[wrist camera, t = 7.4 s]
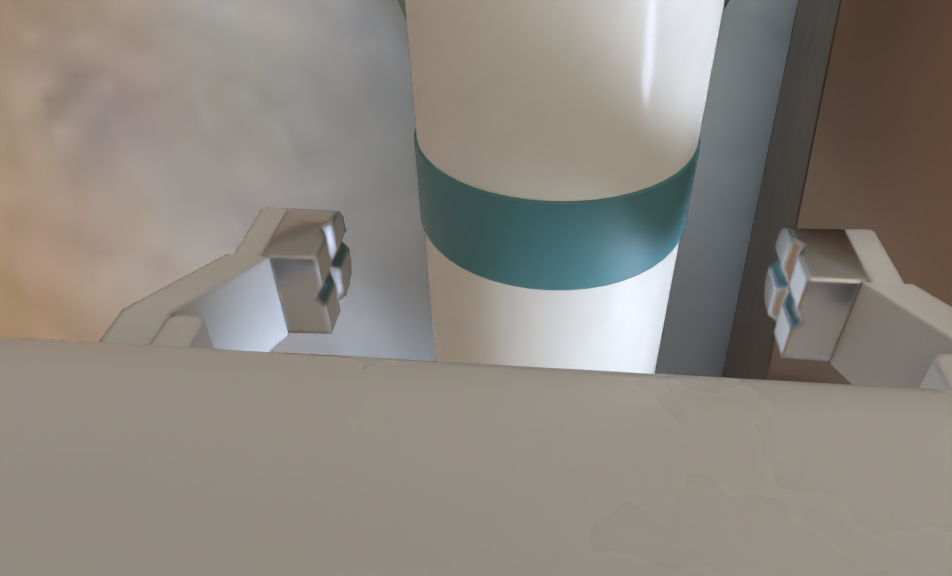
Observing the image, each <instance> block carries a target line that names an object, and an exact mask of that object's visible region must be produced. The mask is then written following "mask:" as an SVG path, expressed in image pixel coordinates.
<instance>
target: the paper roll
mask: <svg viewBox="0 0 952 576" xmlns="http://www.w3.org/2000/svg"><path fill="white" fill-rule="evenodd" d="M724 1H725V0H405V5H406V17H407V28H408V40H409V52H410V64H411V76H412V87H413V99H414V111H415V123H416V128H415V133H414V140H415V153H416V164H417V176H418V187H419V199H420V210H421V221H422V224H423V227H424V231H425V241H426V253H427V265H428V277H429V288H430V300H431V312H432V324H433V336H434V347H435V359H436V361H440V362H458V363H475V364H493V365H511V366H529V367H547V368H564V369H582V370H600V371H618V372H636V373H655V368H656V362H657V357H658V352H659V347H660V341H661V336H662V331H663V325H664V320H665V315H666V309H667V304H668V299H669V293H670V288H671V283H672V278H673V272H674V267H675V262H676V256H677V251H678V246H679V241H680V239H681V236H682V234H683V231H684V227H685V222H686V217H687V212H688V206H689V201H690V196H691V191H692V185H693V180H694V175H695V170H696V165H697V159H698V154H699V148H700V136H699V134H700V129H701V124H702V118H703V113H704V108H705V102H706V97H707V92H708V86H709V81H710V76H711V70H712V65H713V60H714V55H715V49H716V44H717V39H718V33H719V28H720V23H721V17H722V12H723V7H724Z"/></svg>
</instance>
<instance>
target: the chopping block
mask: <svg viewBox="0 0 952 576" xmlns="http://www.w3.org/2000/svg"><path fill="white" fill-rule="evenodd" d="M782 228H802V229H871V230H872V231H874V232H875V233H876V235H877V237H878V239H879V240H880V242H881V244H882V246H883V247H884V249H885V251H886V253H887V254H888V256H889V258H890V260H891V261H892V263H893V265H894V267H895V268H896V270H897V272H898V274H899V275H900V277H901V279H902V281H903V282H904V284H914V285H915V286H917V287H919V288H921V289H922V290H924V291H926V292H927V293H929V294H931V295H932V296H934V297H936V298H938V299H939V300H941V301H943V302H944V303H946V304H948V305H949V306H951V307H952V0H799V2H798V7H797V12H796V17H795V22H794V27H793V32H792V37H791V42H790V47H789V52H788V57H787V61H786V66H785V71H784V76H783V81H782V86H781V91H780V96H779V101H778V106H777V111H776V116H775V121H774V126H773V131H772V135H771V140H770V145H769V150H768V155H767V160H766V165H765V170H764V175H763V180H762V185H761V190H760V195H759V200H758V204H757V209H756V214H755V219H754V224H753V229H752V234H751V239H750V244H749V249H748V254H747V259H746V264H745V269H744V274H743V278H742V283H741V288H740V293H739V298H738V303H737V308H736V313H735V318H734V323H733V328H732V333H731V338H730V343H729V348H728V352H727V357H726V362H725V367H724V372H723V377H725V378H743V379H761V380H779V381H797V382H815V383H833V384H850V385H852V384H851V383H850V382H849V381H848V380H847V379H846V378H845V377H844V376H843V375H842V374H841V373H840V372H838V371H837V370H836V369H835V368H834V367H833V366H832V365H831V364H830V361H817V360H804V359H791V358H781V355H780V352H779V349H778V346H777V343H776V339H775V336H774V333H773V331H774V328H775V325H776V321H774V320H773V319H772V318H770V317H769V316H768V314H767V310H766V307H765V300H764V289H765V279H766V276H767V272H768V268H769V266H770V265H771V264H772V263H774V262H775V261H776V260H777V259H779V258H778V255H777V252H776V249H775V244H776V241H777V237H778V235H779V233H780V231H781V229H782Z"/></svg>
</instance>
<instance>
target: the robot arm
mask: <svg viewBox="0 0 952 576" xmlns="http://www.w3.org/2000/svg"><path fill="white" fill-rule="evenodd" d="M345 232H346V227H345V222H344V217H343V215H342V213H341V212H340V211H328V210H310V209H293V208H291V209H289V208H267V207H266V208H263V209H261V210H260V212H259V213H258V215H257V217H256V218H255V220H254V222H253V223H252V225H251V226H250V228H249V230H248V231H247V233H246V235H245V236H244V238H243V240H242V241H241V243H240V244H239V246H238V248H237V249H236V251H235V253H234V254H233V255H224V256H222V257H220V258H218V259H217V260H215V261H213V262H211V263H209V264H207V265H205V266H203V267H202V268H200V269H198V270H196V271H194V272H192V273H190V274H188V275H187V276H185V277H183V278H181V279H179V280H177V281H175V282H173V283H172V284H170V285H168V286H166V287H164V288H162V289H160V290H158V291H156V292H155V293H153V294H151V295H149V296H147V297H145V298H143V299H141V300H140V301H138V302H136V303H134V304H132V305H130V306H128V307H126V308H125V309H123V310H122V311H121V312H120V314H119V315H118V316H117V318H116V319H115V320H114V322H113V323H112V324H111V326H110V327H109V329H108V330H107V331H106V333H105V334H104V335H103V337H102V338H101V339H100V341H99V342H84V341H66V340H48V339H30V338H12V337H0V576H952V307H951V306H949V305H948V304H946V303H944V302H943V301H941V300H939V299H938V298H936V297H934V296H932V295H931V294H929V293H927V292H926V291H924V290H922V289H921V288H919V287H917V286H915V285H914V284H904V282H903V281H902V279H901V277H900V275H899V274H898V272H897V270H896V268H895V267H894V265H893V263H892V261H891V260H890V258H889V256H888V254H887V253H886V251H885V249H884V247H883V246H882V244H881V242H880V240H879V239H878V237H877V235H876V233H875V232H874V231H872V230H871V229H802V228H782V229H781V231H780V233H779V235H778V237H777V241H776V244H775V249H776V252H777V255H778V258H779V259H777V260H776V261H775V262H774V263H772V264H771V265H770V266H769V268H768V272H767V276H766V279H765V289H764V300H765V307H766V310H767V314H768V316H769V317H770V318H772V319H773V320H774V321H776V325H775V328H774V331H773V333H774V336H775V339H776V343H777V346H778V349H779V352H780V355H781V358H791V359H804V360H817V361H830V364H831V365H832V366H833V367H834V368H835V369H836V370H837V371H838V372H840V373H841V374H842V375H843V376H844V377H845V378H846V379H847V380H848V381H849V382H850V383H851V384H852V385H850V384H833V383H815V382H797V381H779V380H761V379H743V378H725V377H707V376H689V375H671V374H654V373H636V372H618V371H600V370H582V369H564V368H547V367H529V366H511V365H493V364H475V363H458V362H440V361H422V360H404V359H386V358H368V357H351V356H333V355H315V354H297V353H279V352H269V351H270V350H271V349H272V348H273V347H274V346H276V345H277V344H278V343H279V342H280V341H282V340H283V339H284V338H285V337H286V336H288V333H321V334H332V331H333V329H334V326H335V323H336V321H337V318H338V315H339V313H340V306H339V300H340V299H342V298H343V297H344V296H346V294H347V291H348V288H349V286H350V279H351V256H350V249H349V248H348V247H347V246H346V245H345V244H344V243H343V242H342V239H343V237H344V234H345Z"/></svg>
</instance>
